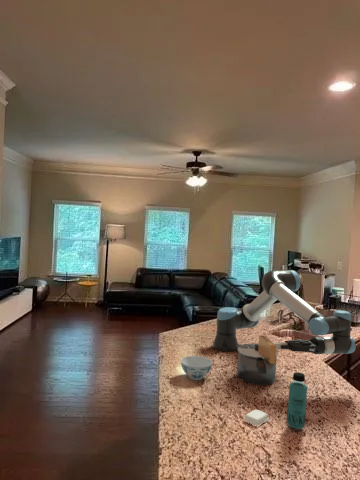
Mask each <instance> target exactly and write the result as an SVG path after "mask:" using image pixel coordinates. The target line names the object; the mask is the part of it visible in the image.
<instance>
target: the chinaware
mask: <svg viewBox="0 0 360 480" xmlns="http://www.w3.org/2000/svg"><path fill="white" fill-rule="evenodd" d="M180 365H181V367H182V371H183V372H184V373H185V374H186V375H187V376H188V378H189V379H190V380H192V381H200V380H203V379H204V377H205V376H207V375H208V374H209V373H210V371H211V369H212V367H213V360H212V359H210V358H208V357H205V356H199V355H191V356H190V355H188V356H184V357H182V358H181V359H180Z"/></svg>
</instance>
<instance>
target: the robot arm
mask: <svg viewBox="0 0 360 480" xmlns="http://www.w3.org/2000/svg"><path fill="white" fill-rule="evenodd" d="M261 286H262V288H263V291H262V292H261V293H260V294H259V295H257V296H256V298H255V299H253V301H251V302H250V303H246V304H245V305H243V307H241V308H240V309H237V308H236V307H232V306H231V307H230V306H227V307H226V306H225V307H221V308H219V309H218V310H217V315H216V334H215V338H214V340H213V342H212V348H213V349H214V350H218V351H222V352H235V351H238V346H239V342H238V339H237V330H243V329H252V328H255V327H257V326H258V324H259V322H260V318H261V317H260V316H261V315H262V313H264V312H265V311H266V310H268V308H270V306H272V305H273V304H274V303H275V302H277V301H279V302H280V303H281V304H283V305H284V306H285V307H286V308H288V309H289V310H290V312H292V313H294V314H295V315H296V316H297V317H298V318H299V319H301V320H302V321H303V322H304V323H306V324H307V325H308V330H309V331H310V333H311V334H313V335H314V336H312V337H311V338H310V339H307V340H306V339H305V340H302V339H301V338H298V339H289V340H285V341H284V342H283V341H282V342H273V343H274V344H275V345H276V350H277V351H278V350H283V351H284V350H286V351H287V350H288V351H291V352H297V353H298V352H299V353H312V354H314V355H326V356H327V355H330V354H331V355H333V354H334V355H335V354H337V355H338V354H342V355H347V354H352V353H354V352H355V351H356V348H357V345H356V341H355V339H354V337H352V336H351V331H352V330H351V329H352V313H351V312H349V311H347V310H341V309H340V310H339V309H335V310H334V311H333V315H331V316H325V315H323V314H322V313H321V312H319V311H318V310H317V309H315V308H314V307H313V306H312V305H310V304H309V303H308V302H307V301H305V300H304V299H303V298H301V297H300V296H299V295H298V294H296V293H295V292H297V291H298V290H299V289H300V287H301V278H300V276H299V273H298V272H296V270H293V269H292V270H290V269H285V270H270V271H267V272H266V273H265V274H264V275H263V277H262V280H261ZM325 335H326V336H325ZM327 335H332V336H327Z"/></svg>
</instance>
